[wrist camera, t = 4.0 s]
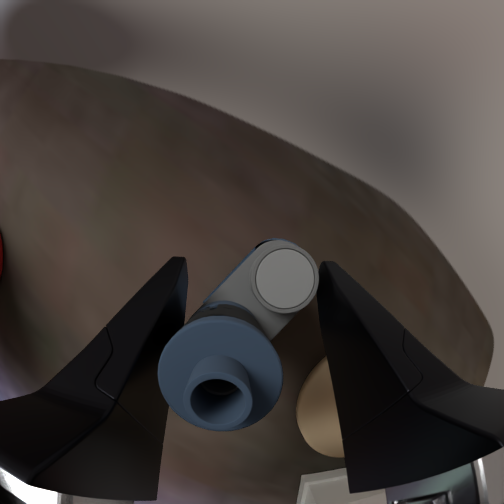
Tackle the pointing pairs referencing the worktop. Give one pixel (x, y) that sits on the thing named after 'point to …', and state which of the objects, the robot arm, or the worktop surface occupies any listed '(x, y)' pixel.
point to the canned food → (1, 256)
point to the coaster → (319, 412)
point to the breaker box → (334, 490)
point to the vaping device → (238, 340)
